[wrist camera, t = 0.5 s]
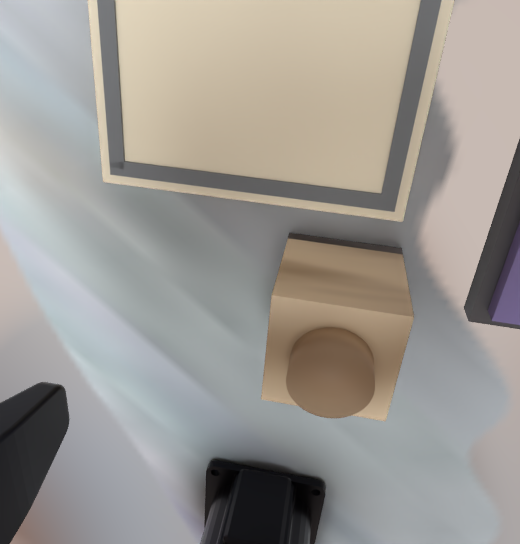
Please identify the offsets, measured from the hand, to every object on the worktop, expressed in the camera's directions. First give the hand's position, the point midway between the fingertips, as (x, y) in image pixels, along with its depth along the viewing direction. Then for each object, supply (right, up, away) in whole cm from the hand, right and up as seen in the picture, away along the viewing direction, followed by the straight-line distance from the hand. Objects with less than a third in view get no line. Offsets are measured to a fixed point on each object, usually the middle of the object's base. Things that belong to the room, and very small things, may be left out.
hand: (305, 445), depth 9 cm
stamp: (+2, +2, +12) cm, 13 cm away
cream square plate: (-1, +12, +8) cm, 14 cm away
